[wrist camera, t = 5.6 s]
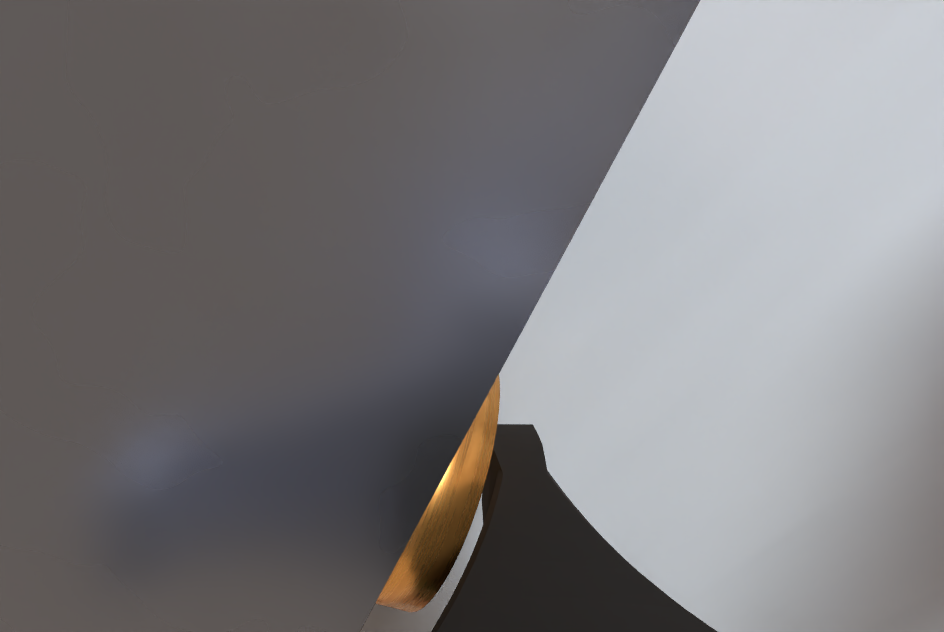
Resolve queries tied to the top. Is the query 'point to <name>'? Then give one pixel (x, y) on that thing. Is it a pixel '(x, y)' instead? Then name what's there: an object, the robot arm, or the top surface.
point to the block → (274, 282)
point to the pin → (445, 517)
